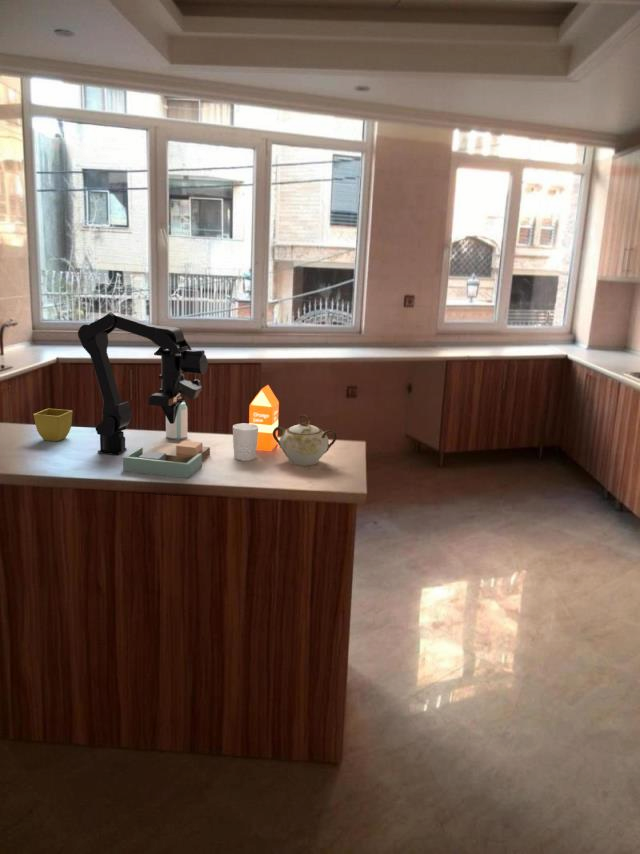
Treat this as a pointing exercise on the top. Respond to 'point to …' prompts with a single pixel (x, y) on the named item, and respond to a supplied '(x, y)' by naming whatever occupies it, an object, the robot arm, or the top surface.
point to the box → (160, 465)
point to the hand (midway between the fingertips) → (172, 423)
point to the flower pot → (53, 423)
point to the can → (178, 424)
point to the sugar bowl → (304, 442)
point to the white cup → (245, 441)
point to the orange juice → (265, 418)
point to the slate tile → (154, 455)
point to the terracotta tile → (189, 448)
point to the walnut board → (172, 456)
